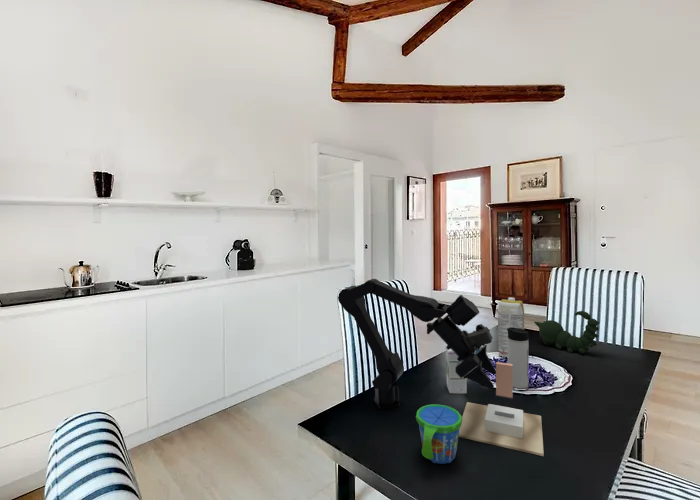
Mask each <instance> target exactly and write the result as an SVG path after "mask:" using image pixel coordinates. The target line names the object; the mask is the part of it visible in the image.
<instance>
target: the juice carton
mask: <svg viewBox="0 0 700 500" xmlns="http://www.w3.org/2000/svg"><path fill="white" fill-rule="evenodd" d="M507 328H519V329H523V330H524V331H525V308H524V303H523V300H516V298H515V297H507V299H501V300H500V301H499V303H498V307H497V349H498V354H499V357H500V356H502V357H501V358H505V357H508V331H507Z"/></svg>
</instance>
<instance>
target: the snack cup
mask: <svg viewBox="0 0 700 500" xmlns="http://www.w3.org/2000/svg"><path fill="white" fill-rule="evenodd" d="M462 416H463V415H462V414H460V412H459V411H458V410H456V409H455V408H454V407H451V406H449V405H445V404H436V403H435V404H434V403H433V404H432V403H431V404H426V405H424V406H420V408H419V409H417V411H416V415H415V419H416V422H417V424H418V428H419V433H420V439H421V445H422V447H421V454H422V456H423V457H424V458H425V459H428V460H429V461H431V462H432V463H434V464H441V465H442V464H450V463H452V462H453V460H455V458H456V454H457V451H458V442H459V438H460V437H459V429H460V427H461V424H462Z"/></svg>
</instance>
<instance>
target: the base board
mask: <svg viewBox="0 0 700 500" xmlns="http://www.w3.org/2000/svg"><path fill="white" fill-rule="evenodd" d="M487 407H488V405H485V404H479V403H473V402H468V401H467V402H466V404H465V407H464V410H463V414H462V415H461V416H462V424H461V427H460V429H459V437H458V438H463V439H467V440H470V441H471V440H472V441H475V442H480V443H485V444H488V445H493V446H497V447H501V448H506V449H509V450H515V451H518V452H523V453H527V454H533V455H536V456H541V457H545V456H544V439H543V437H544V436H543V426H542V423H543V422H542V416H541V415H538V414H532V413H527V412H523V439H522V438H517V437H512V436H508V435H503V434H498V433H494V432H489V431H485V417H486V412H487Z"/></svg>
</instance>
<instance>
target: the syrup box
mask: <svg viewBox="0 0 700 500" xmlns="http://www.w3.org/2000/svg"><path fill="white" fill-rule="evenodd" d="M446 347H447V344H445V367H446V368H445V370H446V371H445V374H446V378H445V379H446V387H447V390H448V392H449V394H460V395H462V394H467V387H468V386H467V378H463V377H462V378H460V377H459V376H458V374H457V373H456V365H457V363H458V362H459V361H458V360H457V358H458V356H457V355H456V354H455V353H454V352H453V351H452V350H451V349H449V350H448V349H447V348H446Z"/></svg>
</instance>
